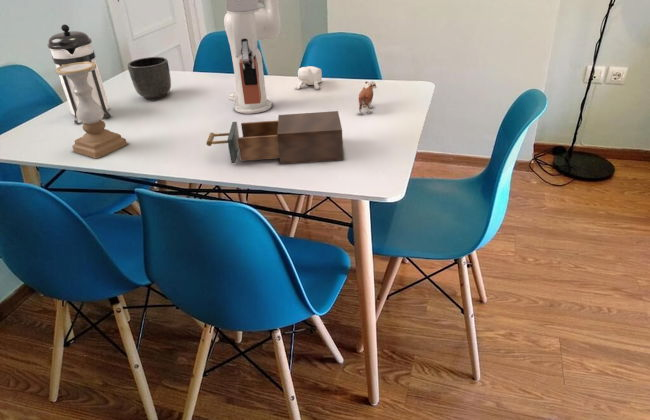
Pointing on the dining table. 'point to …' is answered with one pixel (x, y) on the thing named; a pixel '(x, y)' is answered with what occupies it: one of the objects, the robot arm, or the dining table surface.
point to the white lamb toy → (309, 76)
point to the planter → (150, 77)
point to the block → (250, 87)
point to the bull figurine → (366, 96)
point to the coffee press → (75, 50)
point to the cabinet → (310, 137)
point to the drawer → (251, 141)
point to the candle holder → (90, 114)
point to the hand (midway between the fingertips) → (252, 80)
